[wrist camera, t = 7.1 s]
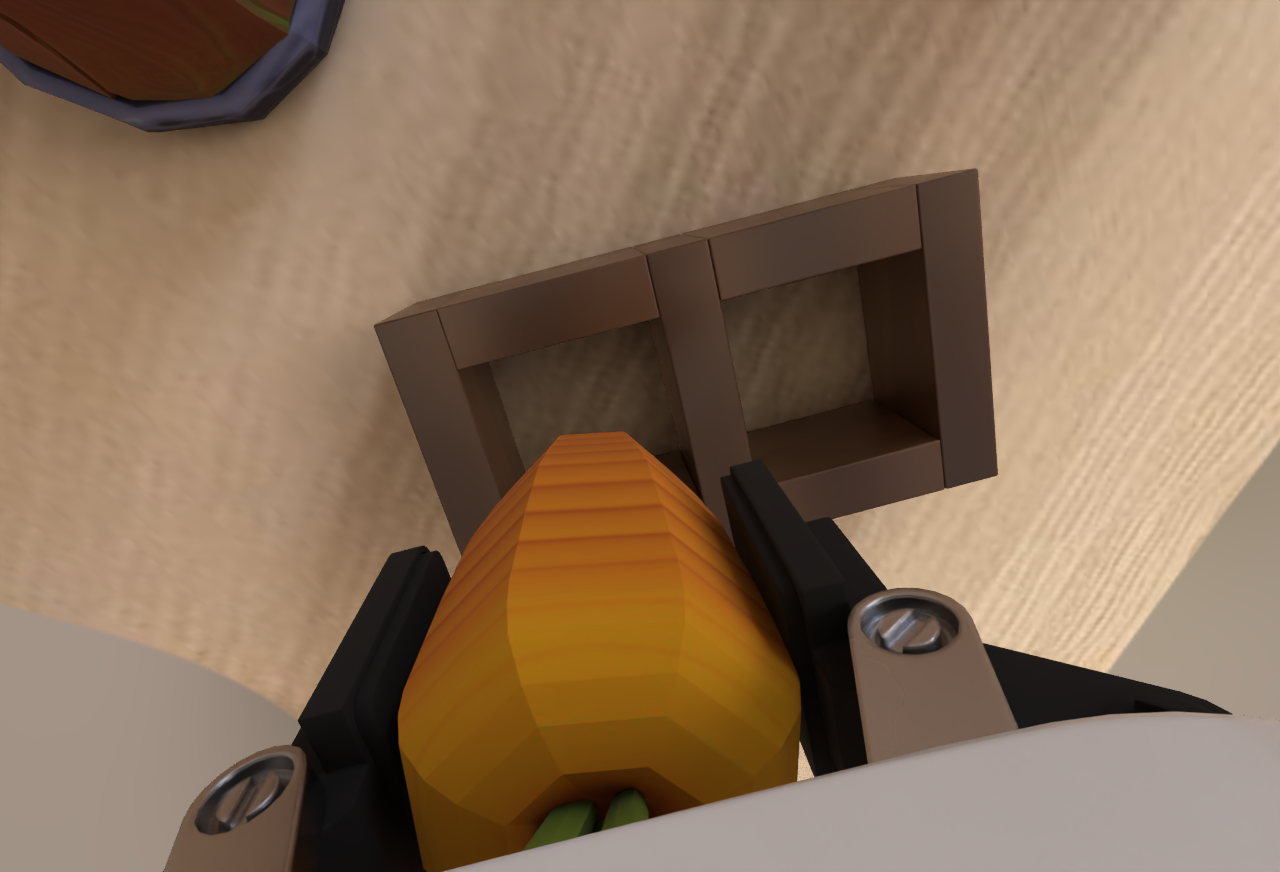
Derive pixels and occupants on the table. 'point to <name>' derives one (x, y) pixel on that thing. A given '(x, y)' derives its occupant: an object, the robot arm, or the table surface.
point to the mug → (167, 55)
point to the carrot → (592, 664)
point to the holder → (701, 359)
